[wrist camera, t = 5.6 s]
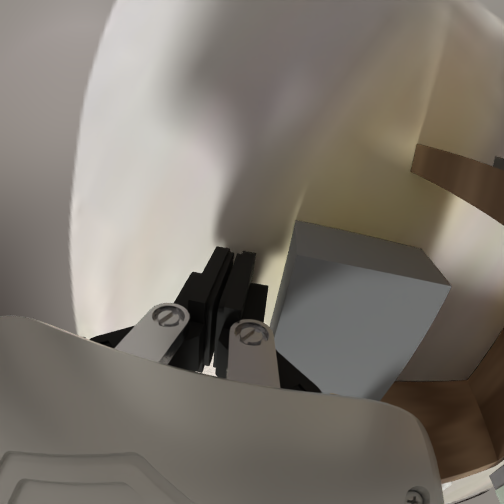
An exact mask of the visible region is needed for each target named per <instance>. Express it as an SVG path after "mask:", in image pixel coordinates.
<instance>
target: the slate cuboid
mask: <svg viewBox="0 0 504 504" xmlns="http://www.w3.org/2000/svg"><path fill="white" fill-rule="evenodd" d="M451 287H452V286H451V285H450V283H449V282H448V281H447V280H446V278H445V277H444V276H443V275H442V273H441V272H440V271H439V270H438V268H437V267H436V266H435V265H434V263H433V262H432V261H431V260H430V259H429V257H428V256H427V255H426V254H425V253H424V251H423V250H422V249H419V248H415V247H411V246H407V245H403V244H399V243H395V242H391V241H387V240H383V239H379V238H374V237H370V236H366V235H362V234H357V233H353V232H349V231H344V230H340V229H335V228H331V227H326V226H321V225H317V224H312V223H307V222H302V221H298V220H296V221H295V225H294V230H293V234H292V238H291V243H290V247H289V251H288V255H287V260H286V264H285V268H284V272H283V276H282V280H281V284H280V288H279V292H278V296H277V300H276V304H275V308H274V312H273V316H272V320H271V323H270V328H271V330H272V332H273V334H274V341H275V349H276V350H277V351H278V352H279V353H280V354H281V355H282V356H284V357H285V358H286V359H287V360H288V361H289V362H290V363H291V364H292V365H294V366H295V367H296V368H297V369H298V370H299V371H300V372H301V373H303V374H304V375H305V376H306V377H307V378H308V379H309V380H311V381H312V382H313V383H314V384H315V385H316V386H317V387H318V388H319V389H320V390H321V391H322V393H324V394H330V393H334V394H338V395H342V396H352V397H360V398H366V399H372V400H376V401H380V400H381V399H382V397H383V396H384V395H385V394H386V392H387V391H388V390H389V388H390V387H391V386H392V384H393V383H394V382H395V380H396V379H397V377H398V376H399V375H400V373H401V372H402V370H403V369H404V367H405V366H406V364H407V363H408V361H409V360H410V358H411V357H412V355H413V354H414V352H415V351H416V349H417V348H418V346H419V344H420V343H421V341H422V340H423V338H424V336H425V335H426V333H427V331H428V330H429V328H430V326H431V324H432V323H433V321H434V319H435V317H436V316H437V314H438V312H439V310H440V308H441V306H442V304H443V303H444V301H445V299H446V297H447V295H448V293H449V291H450V289H451Z"/></svg>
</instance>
